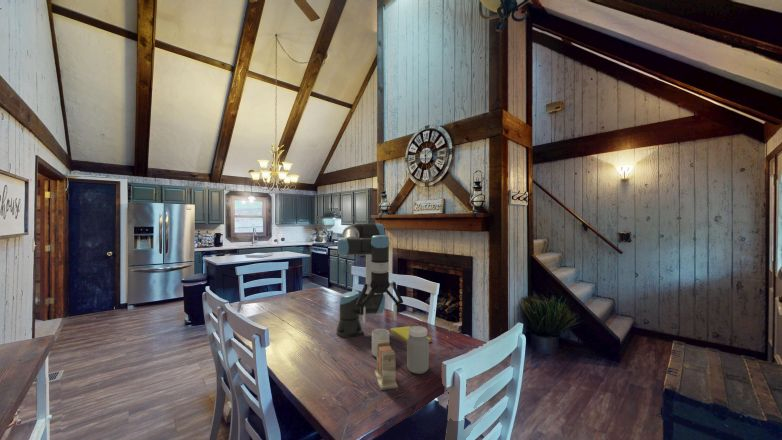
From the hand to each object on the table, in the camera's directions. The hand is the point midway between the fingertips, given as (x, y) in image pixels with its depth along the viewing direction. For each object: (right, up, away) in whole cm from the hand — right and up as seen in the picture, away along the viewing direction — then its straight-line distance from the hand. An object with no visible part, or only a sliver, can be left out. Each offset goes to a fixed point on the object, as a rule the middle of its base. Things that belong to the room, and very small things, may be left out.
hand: (379, 320), depth 125 cm
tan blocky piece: (+3, -24, -3) cm, 24 cm away
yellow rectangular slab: (+16, -24, +42) cm, 51 cm away
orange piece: (+3, -20, -3) cm, 20 cm away
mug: (0, -24, +21) cm, 32 cm away
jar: (+17, -24, +6) cm, 30 cm away
